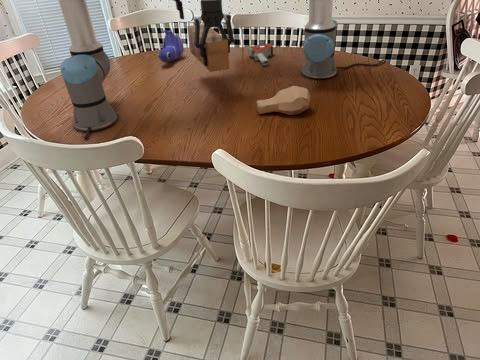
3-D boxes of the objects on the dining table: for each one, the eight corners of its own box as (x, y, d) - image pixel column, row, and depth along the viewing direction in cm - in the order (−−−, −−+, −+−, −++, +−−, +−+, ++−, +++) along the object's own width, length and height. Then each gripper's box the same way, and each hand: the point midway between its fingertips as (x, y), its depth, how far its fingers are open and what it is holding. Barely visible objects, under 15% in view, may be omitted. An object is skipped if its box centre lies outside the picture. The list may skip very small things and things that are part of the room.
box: (229, 68, 137) (227, 40, 131) (210, 72, 135) (207, 43, 129) (207, 49, 160) (204, 23, 154) (190, 51, 158) (187, 26, 151)
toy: (171, 62, 199) (152, 68, 177) (167, 30, 192) (146, 32, 170) (188, 61, 197) (171, 67, 175) (184, 29, 190) (166, 30, 168)
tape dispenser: (265, 70, 173) (284, 55, 186) (265, 59, 170) (284, 45, 183) (235, 63, 181) (255, 50, 193) (235, 53, 177) (255, 40, 190)
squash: (314, 116, 128) (313, 95, 122) (259, 125, 130) (256, 105, 124) (308, 99, 136) (307, 78, 129) (257, 108, 138) (253, 88, 131)
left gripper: (234, -6, 131) (237, 56, 144) (179, 0, 125) (187, 64, 139) (242, -3, 125) (244, 62, 139) (184, 3, 120) (192, 70, 133)
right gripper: (215, -47, 143) (219, 10, 155) (156, -41, 134) (166, 19, 146) (223, -47, 138) (227, 13, 150) (162, -40, 128) (172, 22, 141)
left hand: (216, 63), depth 139 cm, fingers closed on box, 8 cm apart
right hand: (197, 16), depth 148 cm, fingers open, 13 cm apart
